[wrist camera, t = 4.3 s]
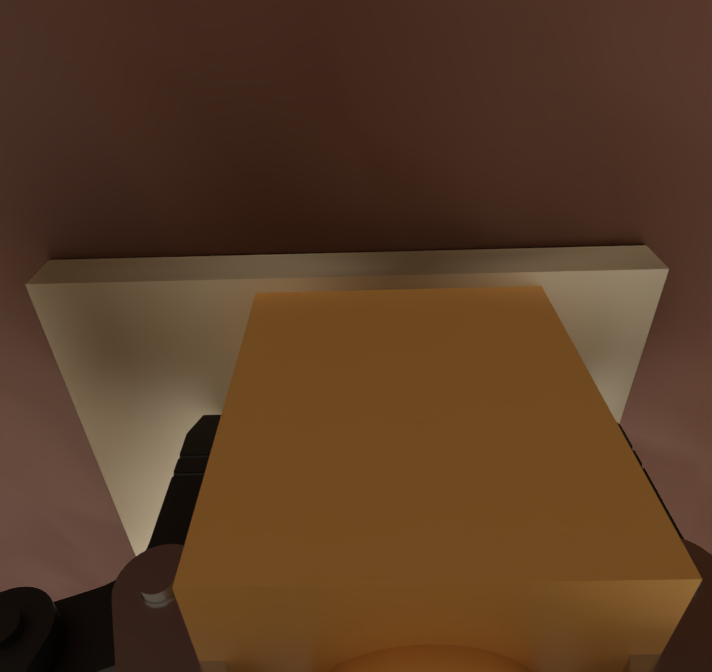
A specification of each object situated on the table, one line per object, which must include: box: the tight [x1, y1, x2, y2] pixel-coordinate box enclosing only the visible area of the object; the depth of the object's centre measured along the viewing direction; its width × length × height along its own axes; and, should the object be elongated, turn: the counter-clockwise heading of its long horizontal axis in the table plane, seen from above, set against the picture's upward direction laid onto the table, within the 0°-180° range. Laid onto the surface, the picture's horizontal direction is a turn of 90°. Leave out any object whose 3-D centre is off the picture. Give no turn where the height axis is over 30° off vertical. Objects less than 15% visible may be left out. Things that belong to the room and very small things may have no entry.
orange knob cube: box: [172, 286, 702, 672], centre depth 9 cm, size 5×5×7 cm
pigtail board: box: [25, 245, 669, 556], centre depth 14 cm, size 12×18×6 cm, turn 1°
